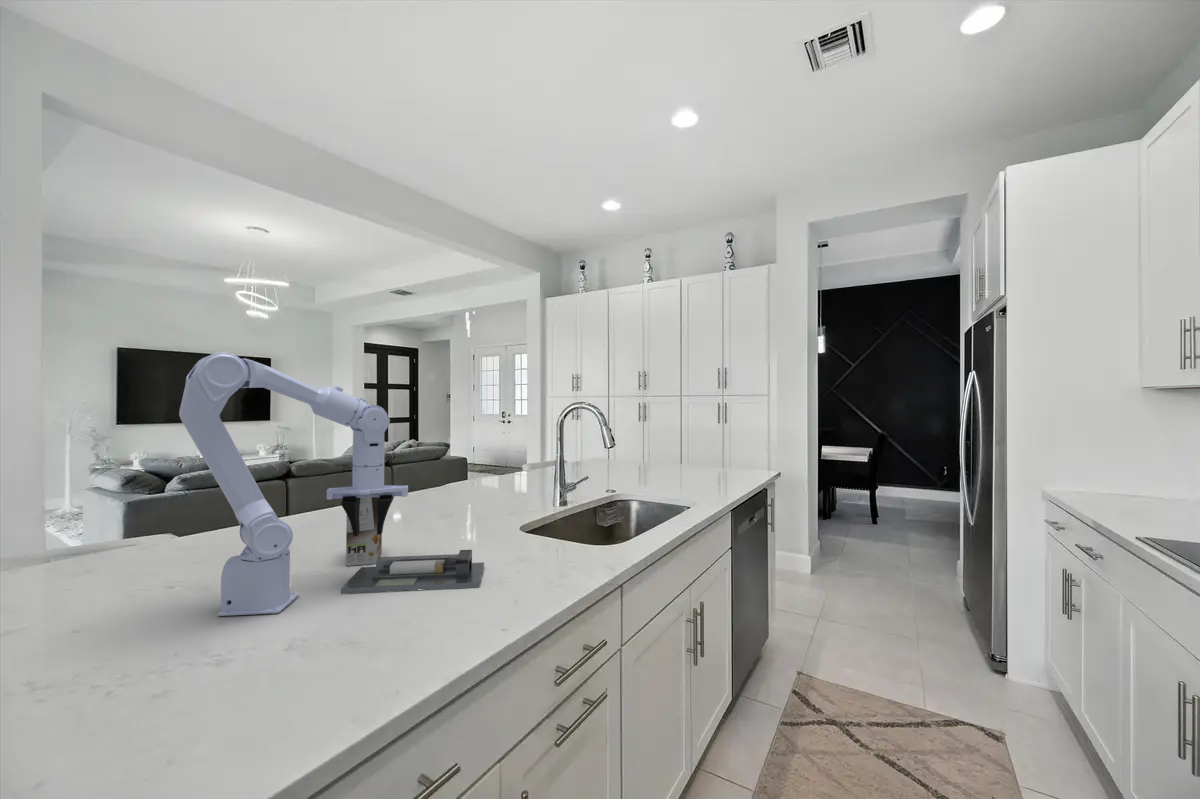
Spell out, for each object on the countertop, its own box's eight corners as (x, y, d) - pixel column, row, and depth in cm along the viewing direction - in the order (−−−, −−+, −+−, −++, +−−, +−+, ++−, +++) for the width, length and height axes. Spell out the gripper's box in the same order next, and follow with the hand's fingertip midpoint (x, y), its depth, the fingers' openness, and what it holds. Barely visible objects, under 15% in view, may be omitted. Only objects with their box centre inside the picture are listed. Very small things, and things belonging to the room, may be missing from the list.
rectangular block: (389, 577, 100) (389, 566, 100) (393, 572, 102) (393, 561, 102) (442, 575, 101) (442, 564, 101) (444, 570, 104) (445, 559, 104)
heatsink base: (340, 593, 94) (340, 569, 94) (361, 572, 106) (361, 549, 106) (479, 587, 98) (479, 563, 98) (484, 567, 110) (484, 545, 110)
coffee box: (377, 564, 111) (378, 490, 111) (345, 566, 109) (345, 492, 109) (382, 552, 120) (382, 483, 120) (352, 554, 118) (352, 485, 118)
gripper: (322, 468, 95) (321, 541, 95) (405, 466, 98) (404, 537, 98) (332, 464, 102) (332, 532, 102) (409, 462, 105) (409, 528, 105)
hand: (368, 534), depth 100 cm, fingers open, 4 cm apart
